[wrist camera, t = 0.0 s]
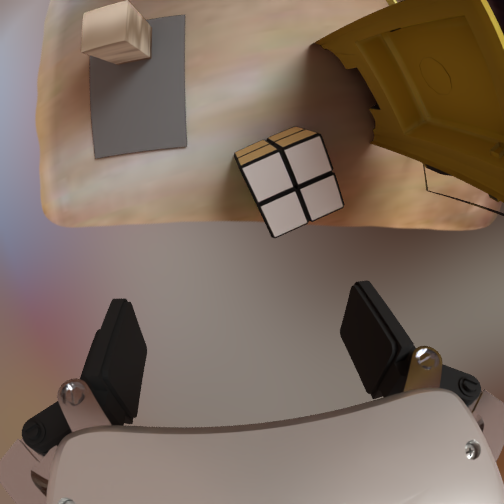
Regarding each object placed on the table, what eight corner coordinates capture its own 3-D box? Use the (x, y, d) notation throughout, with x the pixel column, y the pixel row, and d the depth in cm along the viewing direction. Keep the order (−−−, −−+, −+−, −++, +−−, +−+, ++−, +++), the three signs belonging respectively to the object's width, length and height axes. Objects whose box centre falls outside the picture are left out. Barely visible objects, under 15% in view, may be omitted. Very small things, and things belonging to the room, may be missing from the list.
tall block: (118, 34, 26) (83, 12, 15) (152, 27, 26) (127, 0, 16) (117, 64, 28) (80, 52, 18) (151, 58, 29) (125, 40, 18)
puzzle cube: (319, 184, 42) (346, 207, 33) (260, 211, 43) (273, 240, 34) (296, 125, 37) (321, 132, 28) (232, 152, 38) (238, 167, 29)
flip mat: (92, 34, 25) (90, 33, 25) (185, 15, 26) (184, 14, 26) (96, 157, 35) (95, 158, 34) (187, 145, 36) (186, 146, 36)
